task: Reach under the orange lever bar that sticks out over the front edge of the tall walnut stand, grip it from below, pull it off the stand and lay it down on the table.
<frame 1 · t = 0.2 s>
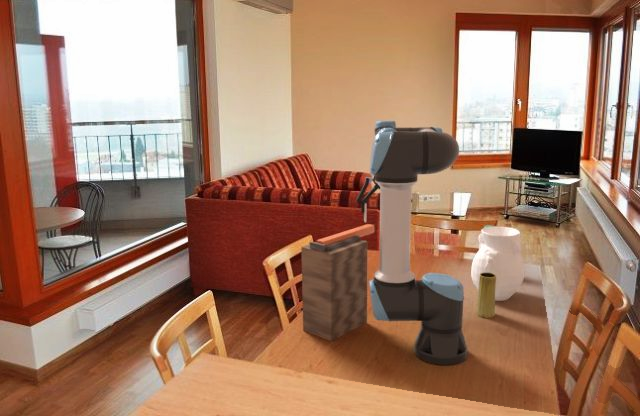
hand: (383, 221, 207), 28 cm above the table, tool pointing down, fingers open, 13 cm apart
milk bottle: (487, 273, 232), on the table
pitcher: (496, 296, 208), on the table
stand: (335, 326, 184), on the table
lever bar: (346, 240, 182), point 28 cm above the table, touching stand
vase: (485, 315, 192), on the table
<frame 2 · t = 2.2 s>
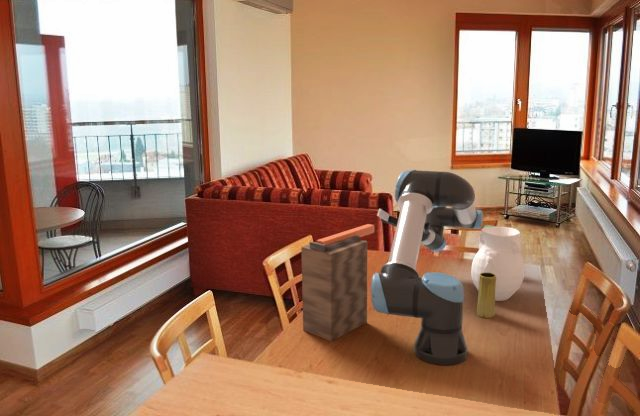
hand: (394, 214, 201), 31 cm above the table, tool pointing upward, fingers open, 13 cm apart
nothing on the table moved.
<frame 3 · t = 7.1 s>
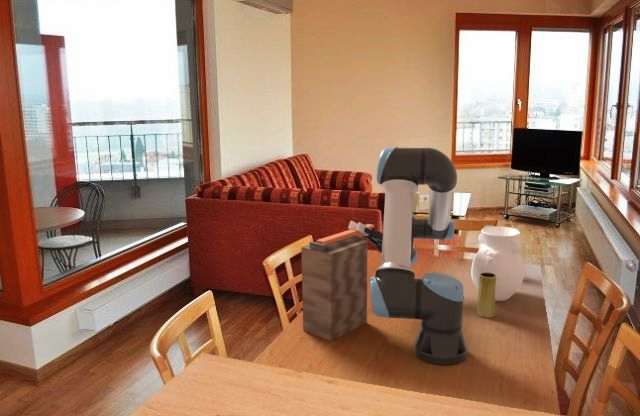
hand: (354, 225, 184), 32 cm above the table, tool pointing upward, fingers closed on lever bar, 3 cm apart
lever bar: (346, 240, 182), point 28 cm above the table, touching gripper
everything else where it was.
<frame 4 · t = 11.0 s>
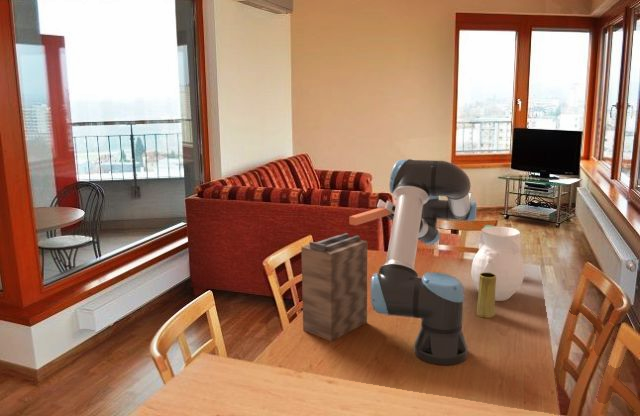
hand: (382, 203, 195), 36 cm above the table, tool pointing upward, fingers closed on lever bar, 3 cm apart
lever bar: (376, 217, 194), point 32 cm above the table, touching gripper
everything else where it was.
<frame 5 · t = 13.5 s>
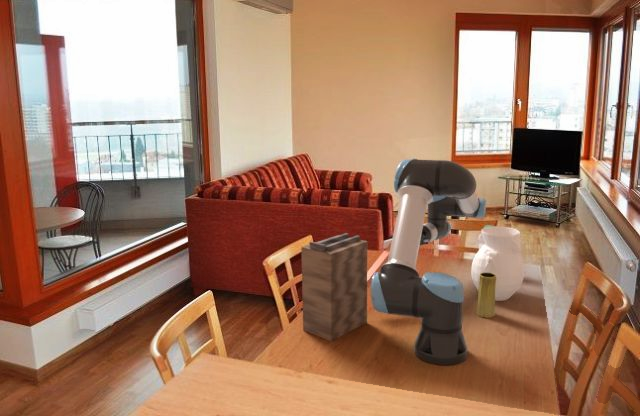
hand: (388, 245, 200), 21 cm above the table, tool horizontal, fingers closed on lever bar, 3 cm apart
lever bar: (385, 261, 201), point 15 cm above the table, tilted 28°, touching gripper
everything else where it was.
when the fingers open (14 cm above the table, at t = 15.3 s): lever bar drops 9 cm, on the table.
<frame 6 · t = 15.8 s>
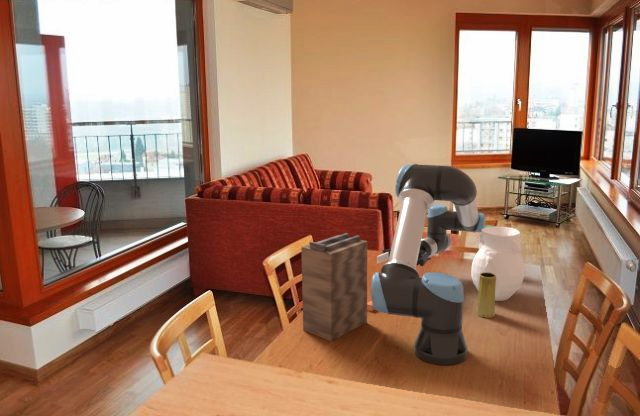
hand: (390, 263, 203), 14 cm above the table, tool horizontal, fingers open, 10 cm apart
lever bar: (390, 300, 206), on the table
everything else where it was.
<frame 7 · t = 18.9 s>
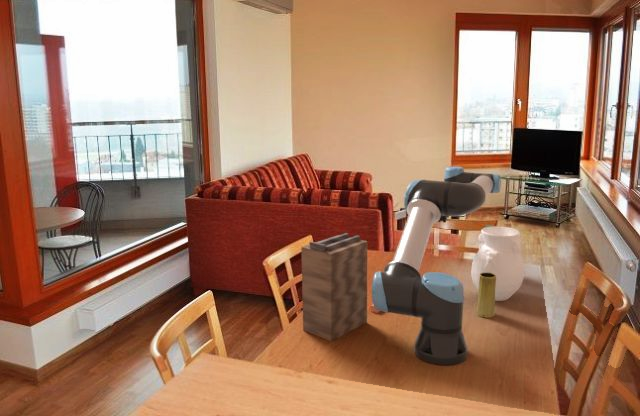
hand: (410, 219, 209), 28 cm above the table, tool horizontal, fingers open, 13 cm apart
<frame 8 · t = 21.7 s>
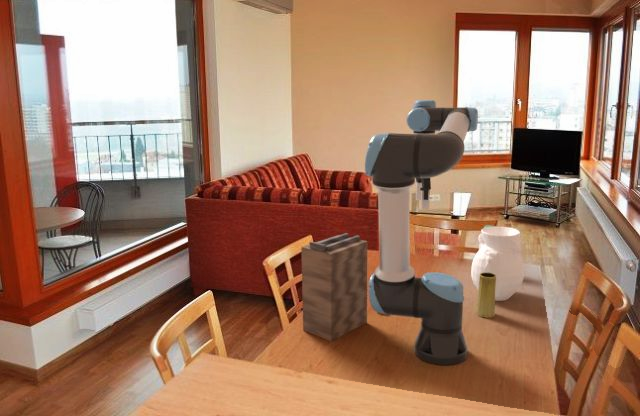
hand: (422, 204, 202), 35 cm above the table, tool pointing down, fingers open, 13 cm apart
at the end: lever bar touching table; lever bar on the table; the gripper is holding nothing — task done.
